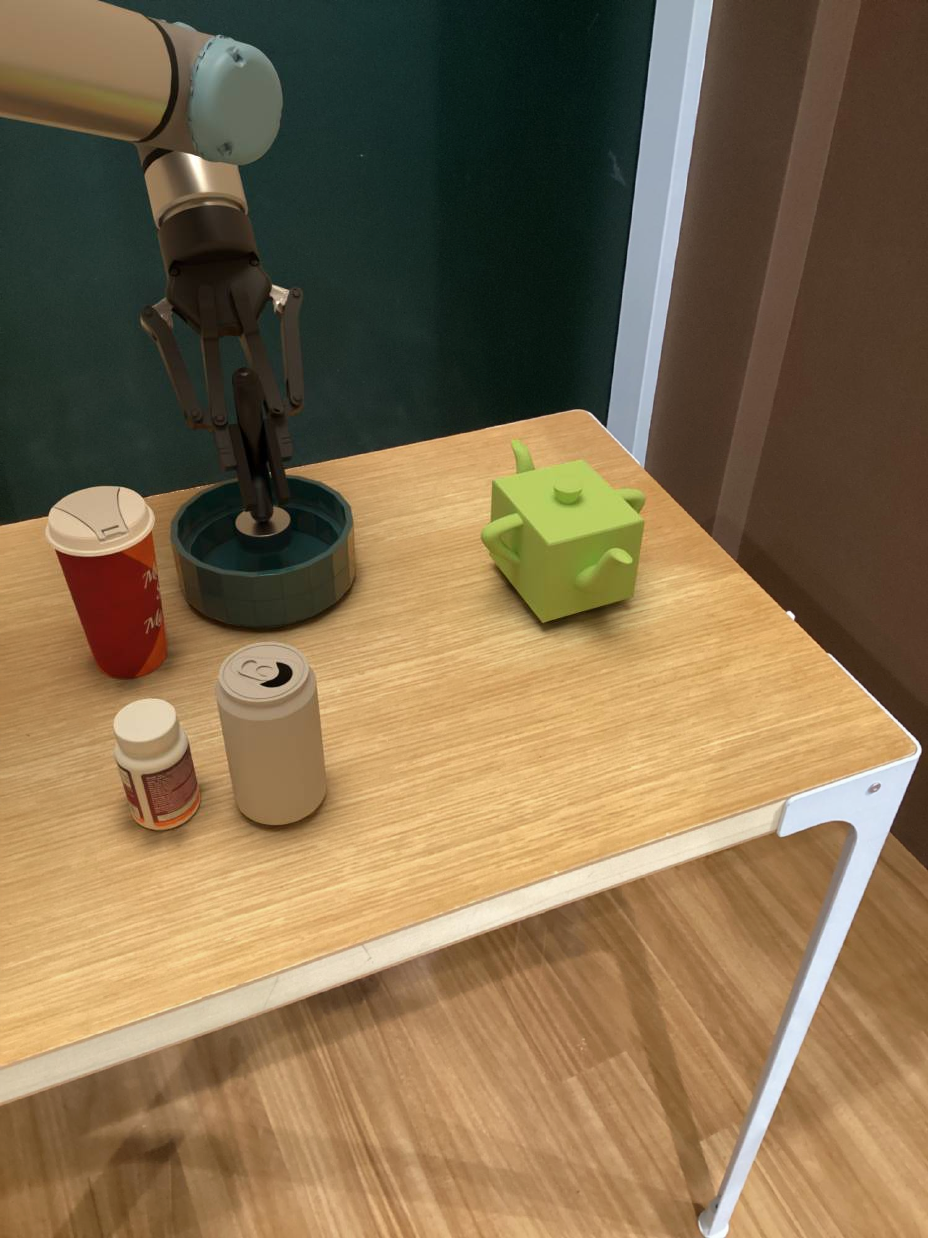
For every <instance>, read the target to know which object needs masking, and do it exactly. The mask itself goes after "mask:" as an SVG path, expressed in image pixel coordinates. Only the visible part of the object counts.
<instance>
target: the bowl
mask: <svg viewBox="0 0 928 1238" xmlns="http://www.w3.org/2000/svg"><path fill="white" fill-rule="evenodd" d="M269 474H270V483H271V491H272V500H273V506H275V507H279V508H281V509H283V510H285V511H286V512H287V513H288V514H289V516H290V520H291V529H292V541H291V543H290V545H289V546H288V547H287V548H285V549H284V550H282V551H280V552H277V553H274V554H270V555H255V554H250V553H248V552H246V551H244V550H243V549H242V548H241V547H240V546H239V544H238V538H237V531H236V524H235V523H236V519H237V517H238V516H239V515H240V514H241V513H242V512H244V511H245V509H244V504H243V500H242V495H241V491H240V487H239V482H238V478H237V477H235V478H231V479H226V480H222V481H219V482H217V483H214V484H213V485H212V484H211V486H208V487H206V488H203V489H202V490H199V491H197V492H196V493H195V494H194V495H192V496H191V497H190V498H188V499H187V500H186V501H184V503H182V504H181V505H180V506H179V508H178V510H177V511H176V512H175V514H174V516H173V517H172V519H171V521H170V528H169V529H170V530H169V533H170V534H169V540H170V545H171V550H172V554H173V555H172V556H173V560H174V565H175V571H176V575H177V581H178V586H179V589H180V591H181V592H182V595H183V596H184V598H185V600H186V602H187V603H188V604H190V605H191V606H192V607H193V608H195V609H196V610H197V611H198V612H200V613H201V614H202V615H203V616H206V617H209V618H211V619H214V620H217V621H219V622H221V623H225V624H229V625H232V626H237V627H241V628H242V627H243V628H249V629H250V628H251V629H252V628H253V629H258V628H259V629H265V628H277V627H285V626H288V625H292V624H296V623H300V622H302V621H305V620H308V619H310V618H312V617H315V616H317V615H319V614H320V613H322V612H323V611H325V610H327V609H328V608H329V607H332V606H333V605H335V604H336V603H337V602H338V601H339V600H340V599H341V598H342V597H343V596H344V595H345V594H346V593H347V592H348V590H349V589H350V588H351V587H352V583H353V581H354V578H355V576H356V573H357V557H356V543H355V542H356V540H355V539H356V538H355V524H354V517H353V511H352V506H351V505H350V504H349V502H348V501H347V500H346V499H345V498H344V496H343V495H342V494H341V492H339V491H337V490H336V489H334V488H332V487H330V486H329V485H327V484H325V483H324V482H322V481H318V480H315V479H313V478H308V477H305V476H301V475H297V474H295V475H294V474H286V479H287V483H288V487H289V492H290V496H291V498H290V500H289V502H288V505H282V506H278V502H277V498H276V494H275V489H274V485H273V481H272V476H271V473H269Z"/></svg>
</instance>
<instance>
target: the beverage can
mask: <svg viewBox="0 0 928 1238" xmlns="http://www.w3.org/2000/svg"><path fill="white" fill-rule="evenodd" d="M214 694H215V698H216V700H215V701H216V705H217V710H218V715H219V721H220V722H219V723H220V726H221V732H222V737H223V744H224V749H225V755H226V760H227V766H228V771H229V775H230V782H231V786H232V792H233V798H234V802H235V804H236V806H237V808H238V810H239V811H240V812H241V813H242V814H243V815H244V816H245V817H247V818H248V819H249V820H252V821H254V822H256V823H259V824H263V825H269V826H283V825H288V824H292V823H295V822H298V821H300V820H302V819H304V818H306V817H308V816H309V815H311V814H312V813H313V812H314V811H315V810H317V808H318V807H319V806H321V804H322V802H323V800H324V798H325V796H326V793H327V786H328V785H327V784H328V783H327V774H326V765H325V764H326V763H325V753H324V752H325V751H324V744H323V734H322V726H321V725H322V723H321V715H320V712H321V711H320V703H319V693H318V683H317V676H316V673H315V671H314V670H313V668H312V667H311V666H310V664H309V661H308V659H307V657H306V656H305V654H304V653H303V652H302V651H300V650H299V648H297V647H295V646H293V645H291V644H288V643H285V642H280V641H279V642H278V641H261V642H255V643H250V644H248V645H245V646H242V647H240V648H238V649H236V650H234V651H233V652H232V653H230V654H229V655H228V656H227V657H226V658H225V659H224V660H223V662H222V663H221V665H220V667H219V670H218V678H217V681H216V684H215V687H214Z"/></svg>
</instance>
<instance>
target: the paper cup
mask: <svg viewBox="0 0 928 1238" xmlns="http://www.w3.org/2000/svg"><path fill="white" fill-rule="evenodd" d="M155 517H156V516H155V514H154V511H153V510H152V508H150V506H149V505H148V504H147V502H146V501H145V499H144V498H143V497H142V496H141V495H140V494H139V493H138V492H136V490H132V489H130V488H127V487H123V486H114V485H100V486H92V487H88V488H84V489H80V490H77V491H74V492H73V493H69V494H67V495H66V496H64V497H62V498H61V499H60V500H59V501H57V502H56V503H55V504H54V505H53V506H52V507H51V508H50V511H49V513H48V518H47V524H46V527H45V531H44V533H45V534H44V535H45V539H46V541H47V543H48V544H49V545H50V546H51V547H52V548H53V549H54V551H55V554H56V557H57V559H58V563H59V565H60V567H61V571H62V573H63V577H64V579H65V582H66V585H67V588H68V591H69V593H70V596H71V599H72V602H73V605H74V608H75V611H76V613H77V617H78V618H79V621H80V622H79V623H80V624H81V628H82V630H83V633H84V635H85V638H86V640H87V644H88V646H89V649H90V652H91V654H92V656H93V657H92V658H93V659H94V661H95V664H96V666H97V668H98V669H99V671H101V673H103V674H104V675H106V676H108V677H110V678H114V679H119V680H126V679H127V680H129V679H137V678H140V677H143V676H145V675H148V674H150V673H152V672H153V671H156V670H157V669H158V668H159V667H160V666H161V665H162V664H163V662H164V661H165V660H166V657H167V654H168V645H167V634H166V624H165V617H164V610H163V602H162V594H161V587H160V580H159V573H158V566H157V557H156V550H155V543H154V534H153V529H154V525H155V523H156V522H155V521H156V519H155Z"/></svg>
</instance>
